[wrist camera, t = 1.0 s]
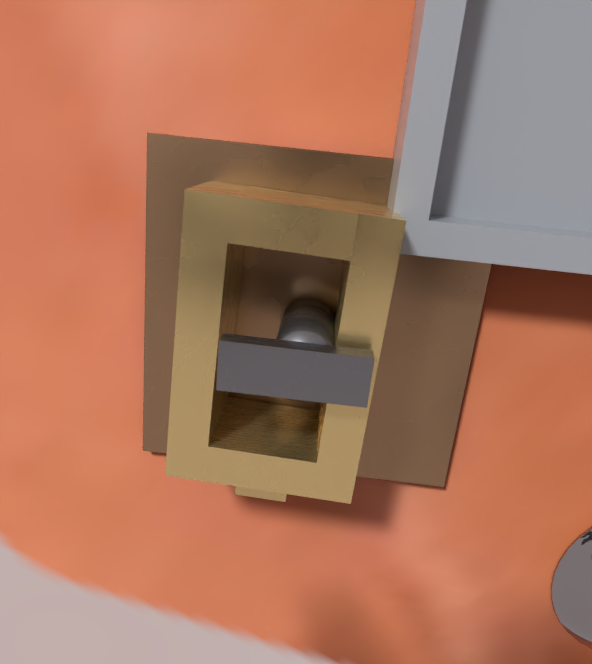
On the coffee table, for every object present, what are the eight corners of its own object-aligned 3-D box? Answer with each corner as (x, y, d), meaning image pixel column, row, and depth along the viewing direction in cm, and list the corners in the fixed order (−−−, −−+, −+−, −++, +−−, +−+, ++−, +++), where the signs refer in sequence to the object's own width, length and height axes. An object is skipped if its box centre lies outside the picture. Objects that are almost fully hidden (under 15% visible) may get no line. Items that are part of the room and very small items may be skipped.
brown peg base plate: (507, 170, 17) (569, 179, 13) (441, 480, 21) (471, 572, 16) (151, 133, 17) (89, 129, 13) (146, 444, 21) (95, 526, 16)
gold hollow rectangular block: (212, 180, 17) (184, 188, 14) (392, 206, 17) (406, 220, 14) (188, 470, 21) (161, 530, 17) (338, 493, 21) (340, 558, 17)
